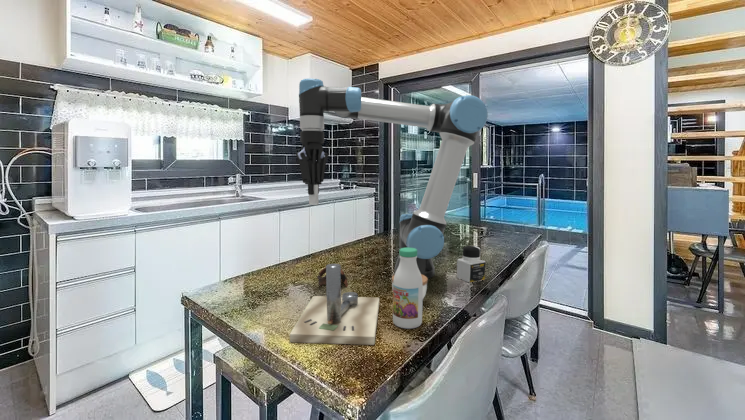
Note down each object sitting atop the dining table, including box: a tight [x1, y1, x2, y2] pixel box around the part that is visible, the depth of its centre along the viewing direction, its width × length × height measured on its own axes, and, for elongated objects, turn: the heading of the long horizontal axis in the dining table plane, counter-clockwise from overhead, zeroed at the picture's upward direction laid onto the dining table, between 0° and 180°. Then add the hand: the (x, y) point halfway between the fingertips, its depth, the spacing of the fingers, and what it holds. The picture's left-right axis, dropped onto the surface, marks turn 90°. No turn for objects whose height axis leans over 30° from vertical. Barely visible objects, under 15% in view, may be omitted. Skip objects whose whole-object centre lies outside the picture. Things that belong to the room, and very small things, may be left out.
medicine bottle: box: [456, 245, 486, 284], centre depth 128 cm, size 7×7×12 cm
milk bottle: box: [392, 247, 424, 330], centre depth 93 cm, size 8×8×20 cm
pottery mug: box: [316, 266, 349, 288], centre depth 123 cm, size 12×10×8 cm
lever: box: [325, 263, 359, 324], centre depth 94 cm, size 16×4×14 cm, turn 162°
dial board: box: [289, 295, 380, 346], centre depth 95 cm, size 20×24×2 cm
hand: (313, 204), depth 116 cm, fingers closed
